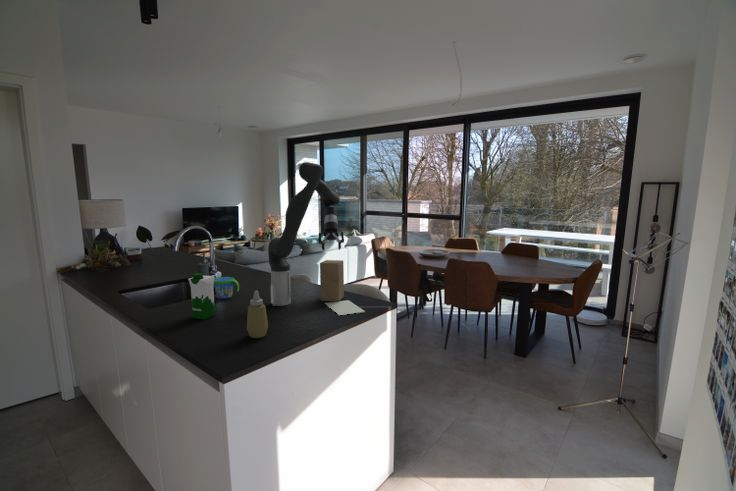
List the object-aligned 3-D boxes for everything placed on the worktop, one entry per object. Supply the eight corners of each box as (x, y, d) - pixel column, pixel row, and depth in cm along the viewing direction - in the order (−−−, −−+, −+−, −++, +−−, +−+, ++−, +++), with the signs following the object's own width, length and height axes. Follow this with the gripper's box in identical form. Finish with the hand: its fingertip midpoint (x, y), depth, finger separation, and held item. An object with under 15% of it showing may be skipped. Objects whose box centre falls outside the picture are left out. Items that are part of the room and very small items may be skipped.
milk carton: (188, 318, 163) (185, 274, 160) (203, 312, 171) (201, 270, 168) (204, 320, 160) (201, 275, 157) (219, 314, 168) (216, 271, 166)
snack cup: (243, 295, 201) (242, 277, 199) (233, 300, 190) (233, 281, 189) (215, 294, 202) (214, 276, 201) (205, 299, 192) (204, 280, 190)
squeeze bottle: (249, 332, 147) (247, 288, 144) (270, 331, 147) (268, 288, 145) (244, 340, 139) (242, 293, 136) (266, 339, 139) (264, 293, 137)
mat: (339, 315, 167) (339, 315, 167) (324, 304, 185) (324, 303, 185) (365, 312, 172) (365, 311, 172) (348, 300, 191) (348, 300, 191)
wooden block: (339, 301, 187) (338, 263, 185) (320, 301, 189) (319, 262, 187) (344, 297, 197) (343, 260, 195) (326, 296, 199) (325, 259, 197)
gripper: (317, 221, 207) (317, 247, 199) (343, 220, 207) (343, 245, 200) (319, 228, 213) (319, 253, 206) (343, 226, 214) (344, 251, 206)
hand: (331, 249), depth 203 cm, fingers open, 8 cm apart
